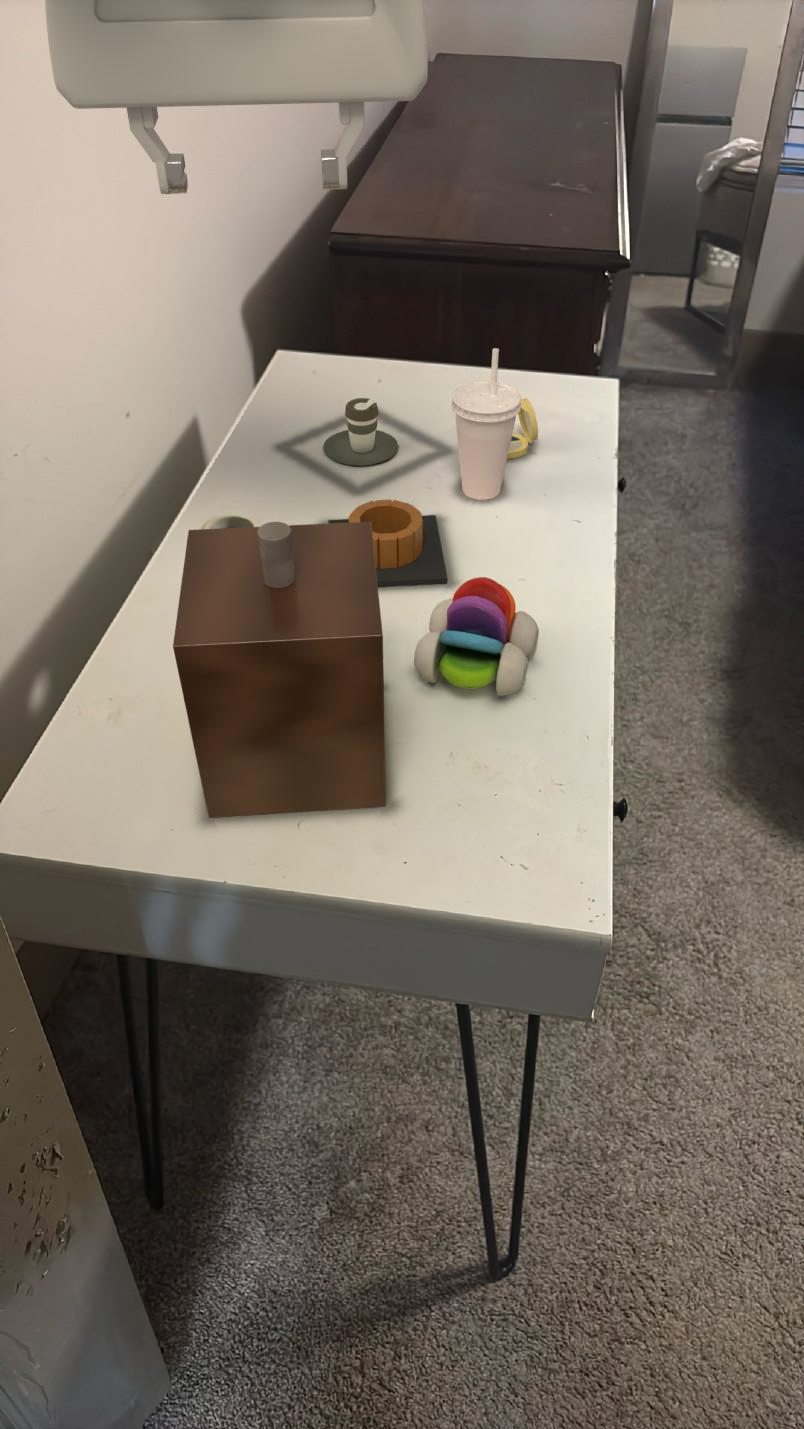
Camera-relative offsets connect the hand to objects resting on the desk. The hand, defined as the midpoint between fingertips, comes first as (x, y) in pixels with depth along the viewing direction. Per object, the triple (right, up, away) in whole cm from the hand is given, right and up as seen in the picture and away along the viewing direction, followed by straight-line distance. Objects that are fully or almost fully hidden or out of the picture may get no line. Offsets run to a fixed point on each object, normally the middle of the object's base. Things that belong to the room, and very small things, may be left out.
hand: (255, 189), depth 59 cm
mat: (+7, -17, +30) cm, 35 cm away
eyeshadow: (+20, -4, +44) cm, 49 cm away
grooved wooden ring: (+7, -16, +30) cm, 35 cm away
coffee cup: (+5, -4, +44) cm, 45 cm away
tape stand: (+1, -34, +13) cm, 36 cm away
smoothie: (+16, -9, +38) cm, 43 cm away
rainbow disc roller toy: (+14, -27, +19) cm, 37 cm away
